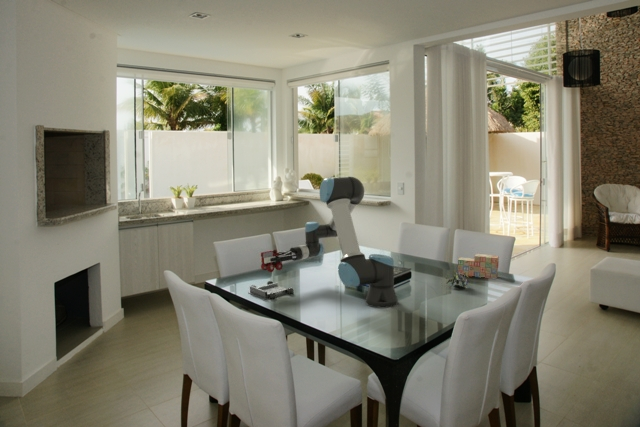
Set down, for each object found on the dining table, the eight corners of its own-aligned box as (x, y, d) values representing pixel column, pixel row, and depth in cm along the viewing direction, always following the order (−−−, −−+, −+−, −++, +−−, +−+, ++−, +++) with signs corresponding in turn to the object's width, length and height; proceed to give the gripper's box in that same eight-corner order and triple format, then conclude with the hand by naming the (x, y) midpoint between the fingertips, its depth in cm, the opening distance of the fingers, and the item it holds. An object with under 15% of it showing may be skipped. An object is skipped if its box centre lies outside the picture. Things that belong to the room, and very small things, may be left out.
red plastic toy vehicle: (285, 268, 245) (285, 249, 244) (266, 273, 237) (265, 253, 235) (277, 266, 250) (277, 247, 249) (258, 270, 242) (257, 251, 241)
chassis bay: (295, 292, 243) (295, 286, 242) (267, 300, 231) (266, 293, 231) (273, 285, 258) (273, 278, 257) (245, 292, 246) (245, 285, 245)
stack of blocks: (457, 275, 270) (457, 254, 269) (459, 272, 276) (460, 252, 274) (496, 279, 260) (497, 257, 258) (498, 276, 266) (498, 255, 264)
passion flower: (464, 298, 245) (471, 284, 237) (444, 294, 246) (450, 280, 238) (463, 281, 253) (470, 267, 245) (443, 278, 254) (449, 263, 246)
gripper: (308, 262, 249) (271, 270, 234) (290, 257, 261) (254, 264, 246) (307, 248, 248) (271, 255, 233) (289, 244, 260) (253, 250, 245)
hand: (262, 260), depth 239 cm, fingers closed on red plastic toy vehicle, 3 cm apart
